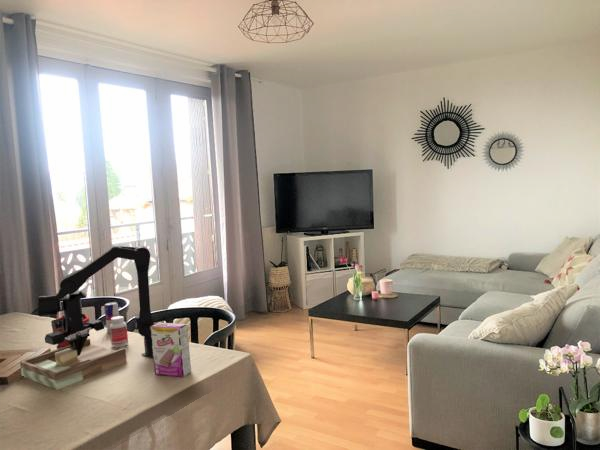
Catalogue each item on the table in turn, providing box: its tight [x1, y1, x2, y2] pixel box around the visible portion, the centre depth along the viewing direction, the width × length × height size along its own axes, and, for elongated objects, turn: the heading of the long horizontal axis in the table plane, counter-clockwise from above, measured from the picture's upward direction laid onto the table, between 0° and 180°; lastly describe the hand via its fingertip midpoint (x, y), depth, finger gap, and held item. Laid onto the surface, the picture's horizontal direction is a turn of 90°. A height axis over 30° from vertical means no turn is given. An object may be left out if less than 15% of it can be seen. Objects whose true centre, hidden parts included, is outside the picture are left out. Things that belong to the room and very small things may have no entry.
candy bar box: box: [150, 321, 192, 378], centre depth 161 cm, size 11×5×16 cm, turn 71°
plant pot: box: [51, 314, 90, 350], centre depth 192 cm, size 13×13×12 cm
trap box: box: [19, 338, 128, 391], centre depth 171 cm, size 23×25×5 cm
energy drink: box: [104, 301, 120, 333], centre depth 212 cm, size 5×5×12 cm
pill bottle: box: [110, 315, 129, 348], centre depth 193 cm, size 6×6×11 cm
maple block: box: [55, 348, 78, 367], centre depth 169 cm, size 5×5×4 cm
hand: (78, 355), depth 172 cm, fingers closed
